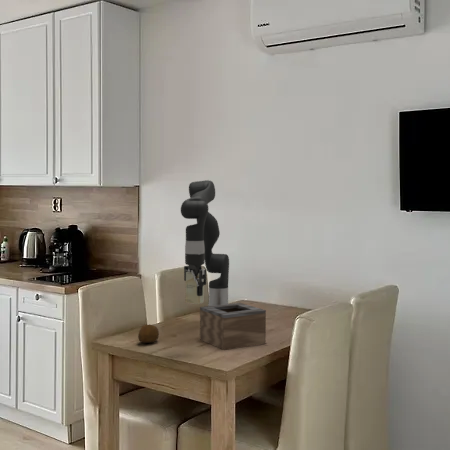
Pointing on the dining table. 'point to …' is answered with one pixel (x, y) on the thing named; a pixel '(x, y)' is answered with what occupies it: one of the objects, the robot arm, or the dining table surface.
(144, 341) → the potato
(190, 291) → the skincare box
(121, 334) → the dining table surface
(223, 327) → the slot box
